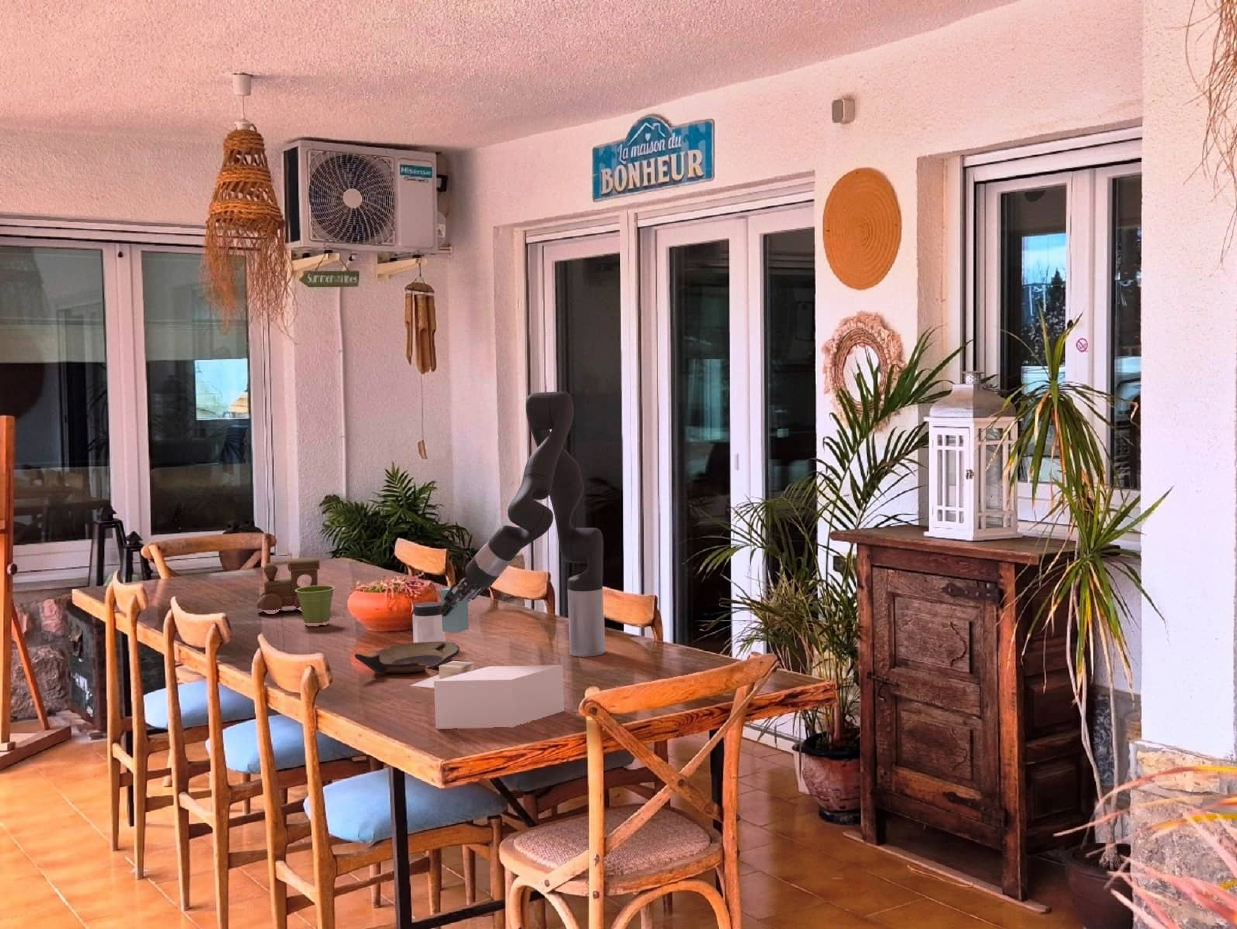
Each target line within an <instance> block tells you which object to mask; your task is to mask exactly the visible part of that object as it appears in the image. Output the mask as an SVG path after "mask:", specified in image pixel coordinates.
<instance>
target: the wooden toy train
mask: <svg viewBox="0 0 1237 929" xmlns="http://www.w3.org/2000/svg"><path fill="white" fill-rule="evenodd" d="M286 561H287V569H288V571H289V572H290V578H283V579H275V578H276V576H277V573H278V571H279V568H278V567H277V565H276V564H275V563H273V562H270V563H266V565H265V566H264V568H263V570H262V571H263V573H264V575H265V577H266V579H267V580H264V581H263V589H264V591H263V592H262V593H261V594H260V596H259V598H258V599H257V601H256V608H257V609H258V610H260V609H261V611H262V610H276V609H277V610H278V609H281V610H282V609H283V608H285V607H294V608H295V607H296V608H299V607H301V606H300V601H299V599H298V595H297V592H295V590H296V589H298V588H302V587H303V586H300V585H299V584H298V580H299V578H300V577H302V576H303V575H306V576H309V577H311V578H310V579H311V580H310V583H309V584H308V585H307V586H306V587H308V586H319V585H318V582H319V579H318V570H320V567H321V566H320V564H321V563H320V558H319V557H301V558H292V559H291V558H289V559H287V560H286ZM296 608H295V609H296Z"/></svg>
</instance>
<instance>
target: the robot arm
mask: <svg viewBox="0 0 1237 929" xmlns="http://www.w3.org/2000/svg"><path fill="white" fill-rule="evenodd" d="M574 407H575V406H574V401H573V399H572V395H571V394H570V393H569V392H567V391H546V392H545V391H543V392H541V391H540V392H533V393H531V394H529V395H528V396H527V397H526V400H525V413H526V419H527V422H528V425H529V428H530V432H531V434H532V437H533V440H534V443H535V445H536V449H534V451H533V452H532V453H531V455H529V458H528V459H527V461H526V463H525V465H524V466H525V467H524V471H523V475H522V480H521V483H520V486H519V488H518V490H517V492H516V494H515V496H514V497H513V499H512V500H511V502H510V504H509V506H508V508H507V516H508V519H509V521H510V522H511V523H512V524H513V525H516V526H513V525H508V524H507V525H502V526H500V527H499V528H498V529H497V531H495V533H494V534H493V535H492V536H491V538H490V539H489V540H488V541H487V542H485V544H484V545H483V546H482V547H481V548H480V549H479V550H478V551H477V553H475V555H474V556H473V558H472V559H471V560H470V561H469V562H468V563H467V564H466V565H465V574H466V575H465V576H466V577H463V578H461V580H460V581H459V583H458V584H456V583H453V584H452V585H451V586H450V587H451V588H450V589H449V591H448V592H447V594H446V596H445V597H444V600H445V601H446V602H445V603H444V605H443V606H442V607H441V608H440V609H439V612H440V613H441V615H442V616H443V617H445V616H447V615H448V614H449V612H450V611H451V610H452V609H453V608H454V607H455V606H456V605H457V604H458V603H459V602H460V601H464V600H465V599H466V598H467V597H468V598H467V600H468V603H470V602H471V600H472V601H474V600H475V599H476V598H477V597H478V596H480V594H481V593H482V592H483V591H484V590H486V589H489V588H490V587H492V586H493V584H494V583H495V582H496V581H497V580H498V579H499V577H500V576H501V575H502V574H503V573H504V572H505V571H506V569H507V568H508V567H509V565H510V563H511V562H512V561H513V560H514V558H515V557H516V556H517V555H518V554H519V553H520V551H521V550H522V549H523V548H525V547H527V546H528V545H530V544H531V543H533V542H534V541H535V540H537V539H539V538H540V537H542V536H543V535H544V534H546V533H547V531H549V530H550V529H551V526H552V524H553V522H554V519H555V527H556V531H557V532H556V533H557V538H558V544H559V545H558V546H559V550H560V553H561V557H562V558H563V560H564V562H566V563H571V564H572V563H573V564H587V566H586V567H587V568H586V569H585V570H584V571H583V572H582V573H580V574H576V575H572V576H570V577H569V578H568V579H567V584H566V585H567V608H568V612H567V613H568V642H569V643H568V644H569V645H568V646H569V655H570V656H573V657H582V658H583V657H584V658H585V657H597V656H601V655H603V654H605V651H606V640H605V639H606V634H605V630H606V629H605V616H604V592H603V591H604V590H603V589H604V587H603V581H604V580H603V579H604V538H603V532H602V531H601V529H599V528H597V527H574V526H573V522H572V518H573V515H574V512H575V510H576V508H577V506H578V505H579V503H580V501H581V499H582V497H583V495H584V492H585V491H584V489H585V488H584V487H585V486H584V480H583V476H582V473H581V472H582V471H581V468H580V466H579V464H578V462H577V461H576V459H575V458H574V457H573V456H572V455H571V454H570V453H569V452H568V451H567V449H565V448H564V445H565V443H566V440H567V438H568V434H569V432H570V430H571V427H572V425H573V424H572V423H573V419H574V416H575V413H574V412H575V408H574ZM548 497H549V499H550V503H551V507H552V509H550V507H548V506H546V505H544V504H543V503H541V502H539V501H543V500H545V499H548ZM461 594H462V595H463V597H461Z"/></svg>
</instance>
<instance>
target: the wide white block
mask: <svg viewBox="0 0 1237 929" xmlns="http://www.w3.org/2000/svg"><path fill="white" fill-rule="evenodd" d="M433 690H434V691H433V692H434V713H435V714H434V719H435V721H434V722H435V729H436V728H437V729H436V730H440V729H441V730H443V729H445V730H448V729H452V730H453V728H454V729H455V728H457V729H491V728H492V729H494V728H493V727H509V728H515V726H516V727H518V726H517V725H519V726H521V725H520V724H522V725H525V724H528V723H531V722H533V721H532V720H534V721H537V720H540V719H543V717H544V718H547V717H549V716H552V715H556V714H558V713H562V712H564V711H565V701H564V696H565V695H564V666H563V664H549V665H546V664H544V665H543V664H541V665H505V666H504V665H501V666H500V665H499V666H497V665H495V666H493V665H492V666H485V667H482V668H478V669H474V671H470V672H466V673H462V674H459V675H455V676H451V677H447V678H444V679H440V680H436V681H434V688H433ZM530 721H531V722H530ZM527 722H528V723H527ZM524 723H525V724H524Z"/></svg>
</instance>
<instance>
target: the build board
mask: <svg viewBox="0 0 1237 929" xmlns="http://www.w3.org/2000/svg"><path fill="white" fill-rule="evenodd" d="M436 680H439V674H437V675H434V676H431V677H429V678H426V679H423V680H421V681H418V682H416V683H412V684H410V685H409V686H410V687H420V688H431V689H434V681H436Z"/></svg>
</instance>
